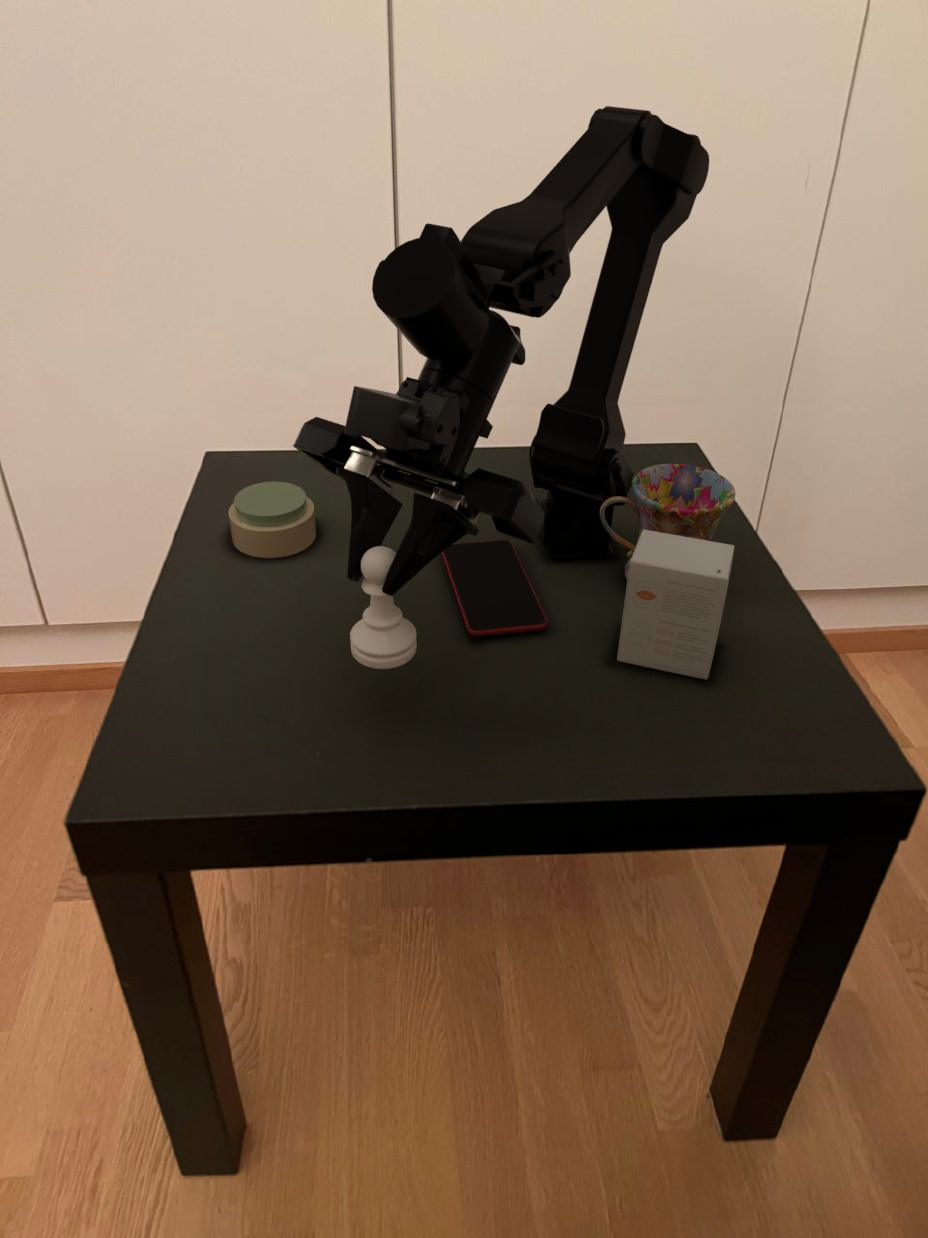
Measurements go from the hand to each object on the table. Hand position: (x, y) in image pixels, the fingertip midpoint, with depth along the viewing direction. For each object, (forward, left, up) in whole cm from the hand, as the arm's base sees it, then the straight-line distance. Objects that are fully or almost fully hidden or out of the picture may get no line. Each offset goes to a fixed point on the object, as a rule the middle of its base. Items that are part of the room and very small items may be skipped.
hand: (369, 587), depth 67 cm
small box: (-26, -7, -13) cm, 30 cm away
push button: (+9, -30, -13) cm, 34 cm away
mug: (-28, -18, -13) cm, 36 cm away
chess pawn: (-1, -1, -7) cm, 7 cm away
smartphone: (-12, -18, -13) cm, 25 cm away
